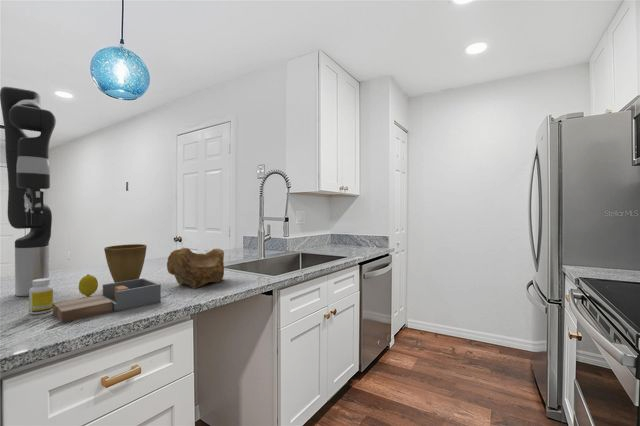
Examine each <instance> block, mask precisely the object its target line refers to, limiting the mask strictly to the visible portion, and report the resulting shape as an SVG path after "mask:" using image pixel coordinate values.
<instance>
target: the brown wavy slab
mask: <svg viewBox="0 0 640 426" xmlns="http://www.w3.org/2000/svg"><path fill="white" fill-rule="evenodd" d="M112 312H113V302H112V301H110V300H108V299H107V298H105V297H103V296H101V294H97V295H90V296H89V297H87V296H85V297H80V298H75V299H68V300H63V301H57V302H53V310H52V314H53V315H54V316H55V317H56V318H57V319H58V320H59V321H60V322H61V323H67V322H71V321H76V320H80V319H85V318H89V317H95V316H98V315H104V314H107V313H112Z"/></svg>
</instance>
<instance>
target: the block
mask: <svg viewBox="0 0 640 426" xmlns="http://www.w3.org/2000/svg"><path fill="white" fill-rule="evenodd" d="M128 289H129V288H128V287H125V286H117V287H115V302H116V303H117V297H116V291H122V290H128Z"/></svg>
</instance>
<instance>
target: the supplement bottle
mask: <svg viewBox="0 0 640 426" xmlns="http://www.w3.org/2000/svg"><path fill="white" fill-rule="evenodd" d="M50 284H51V278H49V279H48V278H44V279H36V280H33V281H32V286H33V287H32V288H31V289H30V290H29V296H28V314H30V315H41V314H46V313H50V312H51V311H52V312H53V303H54V301H53V300H54V293H53V291H54V288H53V286H52V285H50Z"/></svg>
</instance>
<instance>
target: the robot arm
mask: <svg viewBox="0 0 640 426" xmlns="http://www.w3.org/2000/svg"><path fill="white" fill-rule="evenodd" d="M0 106H1V107H0V108H1V114H2V121H3V127H4V140H5V143H4V144H5V146H4V147H5V161H6V169H7V182H8V183H7V184H8V187H7V188H8V191H7V192H8V193H7V219H8V223H9V225H10V226H11V227H12V228H14V229H16V230H17V229H19V230H21V229H23V230H25V229H30V231H29V232H28V233H27V234H25V235H24V236H22V237H19V238H17V239H16V240H14V295H15V297H29V290H30V289H31V288H32V287H33V286H32V281H33V280H36V279H44V278H48V279H50V248H49V247H50V246H49V245H50V244H49V243H50V239H51V237H52V223H53V219H52V218H53V214H52V211H51V210H52V209H51V207H50V206H48V204H45V203H44V194H45V193H44V191H42V190H48V189H50V187H51V186H50V185H51V183H50V182H51V176H50V175H51V173H50V172H51V171H50V169H51V168H50V166H51V165H50V161H49V158H50V157H49V155H50V154H49V149H50V148H49V147H50V141H51V137H52V134H53V132H54V130H55V128H56V124H57V119H56V116H55V114H54V113H53V112H52V111H50V110H47V109H43V108H44V107H43V100H42V96H41V95H40V94H39V93H38V92H36V91H35V90H34V91H33V90H29V89H23V88H19V87H18V88H17V87H13V86H2V87H1V88H0ZM24 130H25V131H30V132H31V131H32V132H38V133H40V134H39V135H38V136H35V137H34V136H32V137H30V136H29V135H28V134H27V133H26V132H25V131H24Z"/></svg>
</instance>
